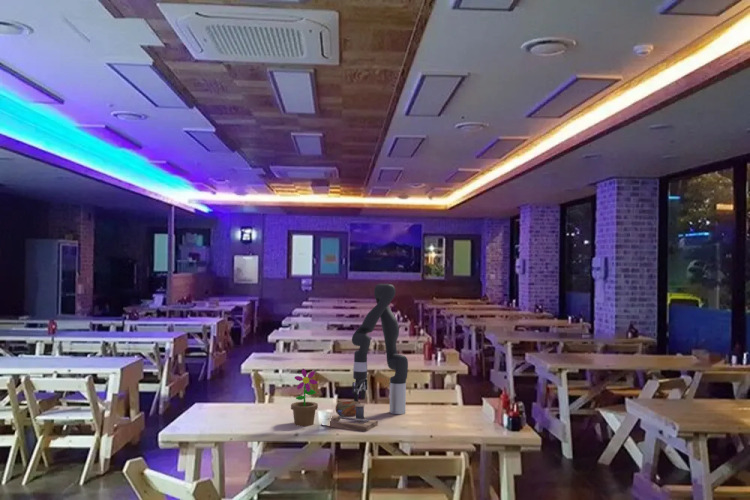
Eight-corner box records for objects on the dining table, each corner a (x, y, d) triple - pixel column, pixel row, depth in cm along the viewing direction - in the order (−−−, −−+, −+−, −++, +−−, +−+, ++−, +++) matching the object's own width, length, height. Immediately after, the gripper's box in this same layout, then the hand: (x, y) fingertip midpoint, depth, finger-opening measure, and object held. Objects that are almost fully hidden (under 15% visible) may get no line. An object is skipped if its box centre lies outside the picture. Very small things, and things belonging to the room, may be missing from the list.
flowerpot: (292, 427, 340) (293, 369, 340) (288, 421, 354) (289, 365, 354) (320, 426, 344) (320, 368, 344) (315, 419, 358) (315, 364, 358)
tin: (336, 417, 365) (336, 401, 365) (334, 415, 368) (334, 400, 368) (361, 415, 371) (362, 400, 371) (359, 413, 374) (360, 399, 374)
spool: (357, 419, 361) (357, 403, 361) (366, 420, 359) (366, 404, 359) (353, 421, 356) (353, 404, 356) (361, 422, 354) (362, 405, 354)
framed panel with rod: (334, 419, 358) (334, 415, 358) (377, 425, 347) (377, 420, 347) (321, 425, 346) (321, 420, 346) (366, 431, 335) (366, 426, 335)
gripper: (360, 372, 350) (360, 403, 349) (372, 368, 363) (371, 398, 362) (348, 371, 353) (347, 401, 353) (359, 367, 366) (359, 397, 365)
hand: (359, 399), depth 357 cm, fingers open, 8 cm apart
